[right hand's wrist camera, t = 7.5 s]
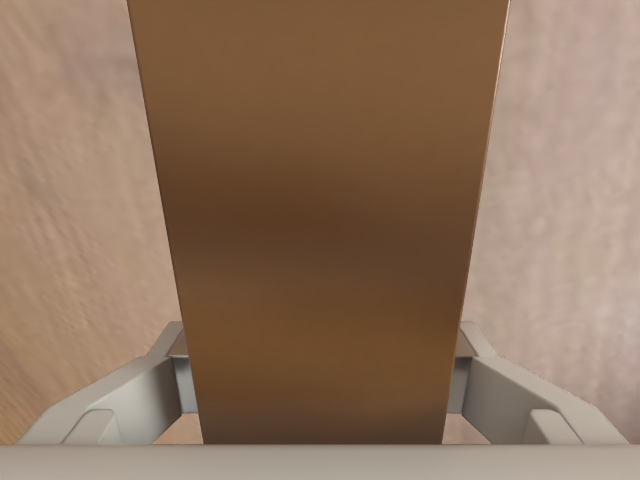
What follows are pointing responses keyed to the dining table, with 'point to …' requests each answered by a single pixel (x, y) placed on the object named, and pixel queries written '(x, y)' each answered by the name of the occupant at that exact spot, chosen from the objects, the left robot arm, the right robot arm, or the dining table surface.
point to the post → (320, 204)
